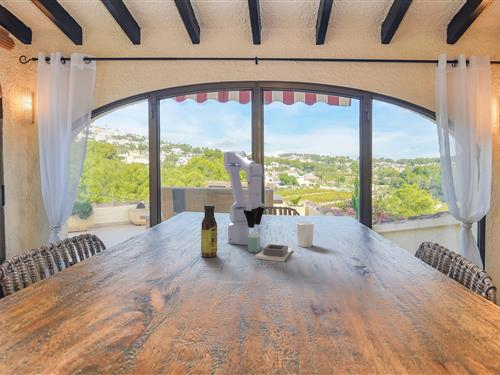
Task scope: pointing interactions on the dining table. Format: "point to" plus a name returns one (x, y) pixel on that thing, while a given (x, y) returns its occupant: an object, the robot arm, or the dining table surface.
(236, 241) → the robot arm
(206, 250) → the sauce bottle
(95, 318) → the dining table surface
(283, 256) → the outlet plate
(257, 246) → the block
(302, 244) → the white cup
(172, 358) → the dining table surface
